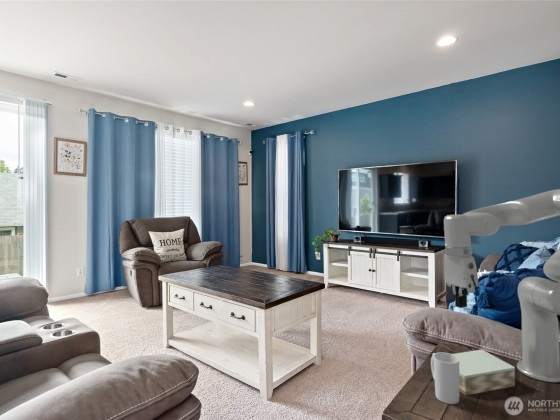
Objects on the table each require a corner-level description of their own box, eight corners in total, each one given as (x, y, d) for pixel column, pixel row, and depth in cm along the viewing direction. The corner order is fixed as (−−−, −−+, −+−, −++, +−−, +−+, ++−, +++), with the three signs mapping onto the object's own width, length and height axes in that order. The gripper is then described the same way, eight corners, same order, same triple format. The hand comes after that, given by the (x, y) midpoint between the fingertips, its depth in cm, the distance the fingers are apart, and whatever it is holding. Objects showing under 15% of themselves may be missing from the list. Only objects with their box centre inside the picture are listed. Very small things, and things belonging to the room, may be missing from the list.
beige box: (481, 366, 112) (480, 352, 112) (514, 385, 100) (514, 370, 100) (436, 373, 108) (436, 359, 108) (465, 395, 96) (465, 379, 96)
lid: (481, 351, 112) (481, 349, 112) (515, 369, 100) (515, 367, 100) (435, 358, 108) (435, 356, 108) (464, 378, 96) (464, 376, 96)
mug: (465, 402, 93) (464, 361, 92) (445, 406, 91) (444, 364, 91) (441, 384, 102) (440, 346, 102) (422, 387, 101) (421, 349, 101)
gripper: (487, 253, 101) (490, 311, 101) (450, 248, 115) (453, 299, 115) (467, 256, 99) (470, 315, 99) (432, 250, 113) (435, 302, 113)
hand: (461, 306), depth 107 cm, fingers closed
